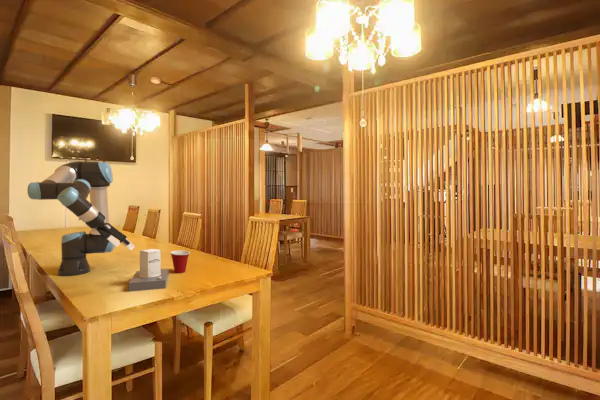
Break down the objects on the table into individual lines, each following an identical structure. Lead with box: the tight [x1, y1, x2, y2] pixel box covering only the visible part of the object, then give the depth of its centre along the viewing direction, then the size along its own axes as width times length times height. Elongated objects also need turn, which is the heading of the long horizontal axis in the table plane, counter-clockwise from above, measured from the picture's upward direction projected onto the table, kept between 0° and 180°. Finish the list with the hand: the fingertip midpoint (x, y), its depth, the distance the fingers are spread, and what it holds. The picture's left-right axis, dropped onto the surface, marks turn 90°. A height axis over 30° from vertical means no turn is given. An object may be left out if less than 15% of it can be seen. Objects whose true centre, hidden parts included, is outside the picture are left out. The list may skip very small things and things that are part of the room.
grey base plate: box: [128, 268, 170, 292], centre depth 166 cm, size 24×16×5 cm, turn 19°
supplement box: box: [139, 248, 162, 277], centre depth 165 cm, size 7×7×13 cm
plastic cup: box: [169, 250, 191, 274], centre depth 188 cm, size 11×11×12 cm
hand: (125, 246), depth 156 cm, fingers open, 13 cm apart
